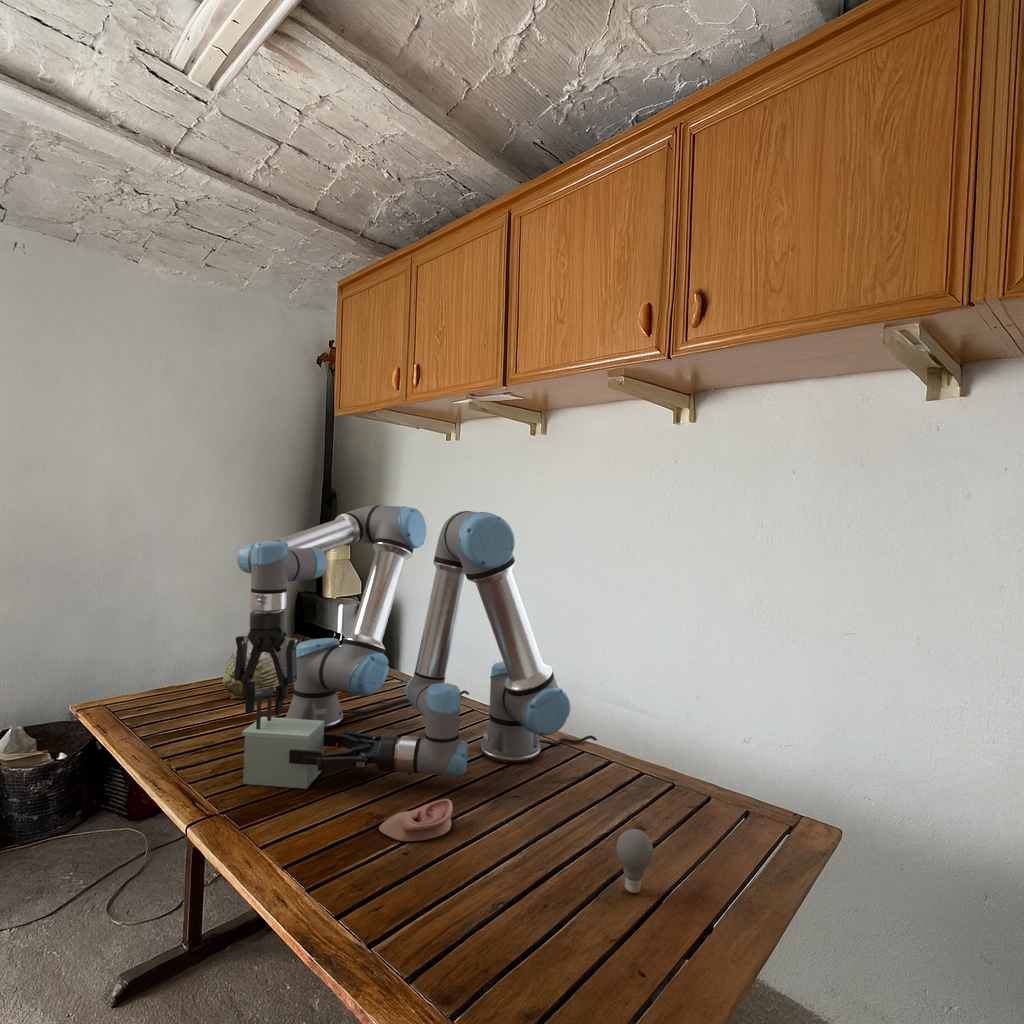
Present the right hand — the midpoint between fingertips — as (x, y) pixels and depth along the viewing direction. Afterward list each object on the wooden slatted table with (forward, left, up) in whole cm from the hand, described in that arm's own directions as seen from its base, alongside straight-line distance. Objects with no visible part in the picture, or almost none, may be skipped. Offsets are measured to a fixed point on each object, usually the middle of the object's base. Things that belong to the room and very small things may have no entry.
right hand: (299, 747), depth 142 cm
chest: (+3, -1, -7) cm, 8 cm away
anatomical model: (-20, +28, -7) cm, 36 cm away
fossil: (+10, -64, -7) cm, 65 cm away
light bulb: (-50, +59, -7) cm, 78 cm away
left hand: (+8, -4, +7) cm, 11 cm away
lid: (+3, -1, +3) cm, 5 cm away
